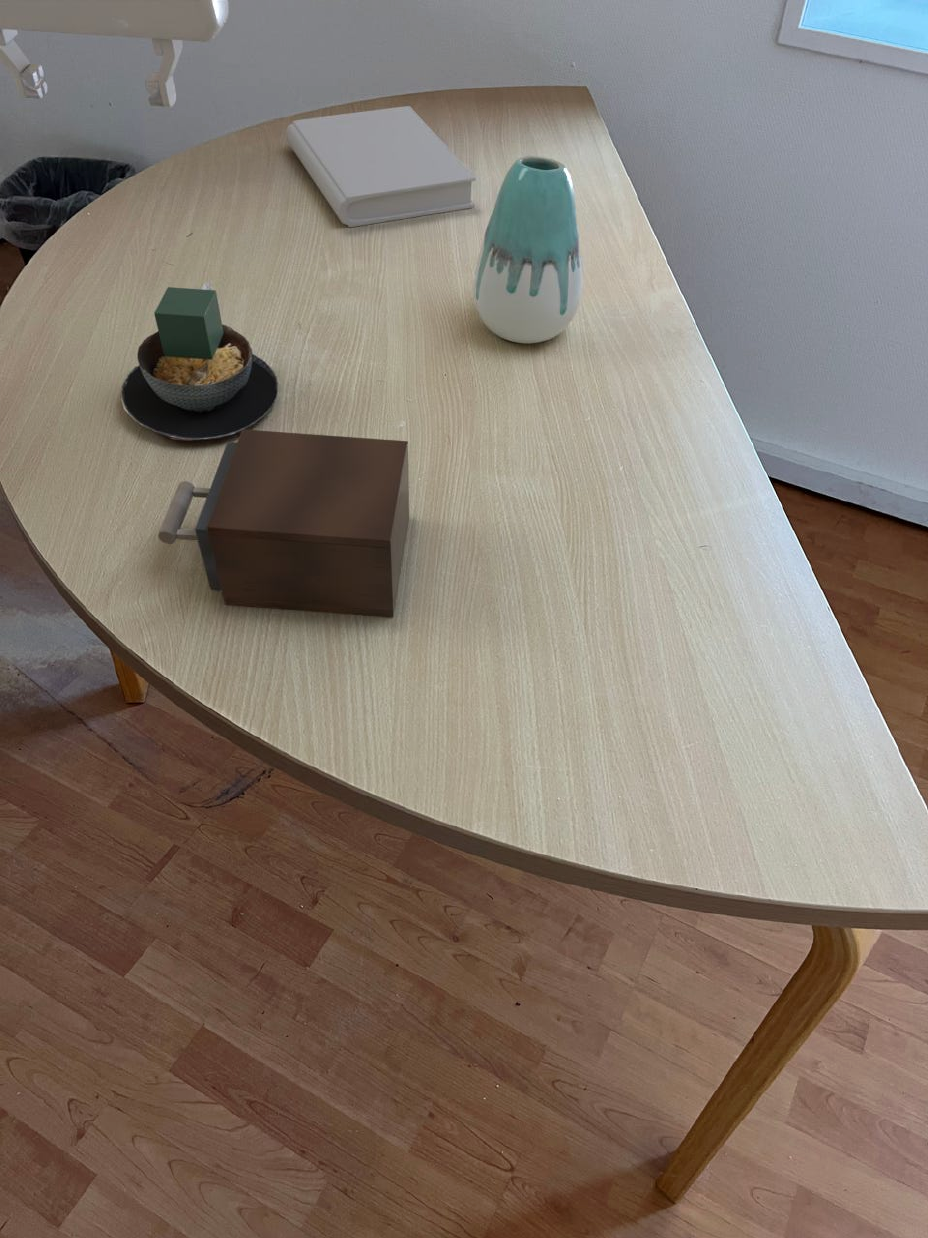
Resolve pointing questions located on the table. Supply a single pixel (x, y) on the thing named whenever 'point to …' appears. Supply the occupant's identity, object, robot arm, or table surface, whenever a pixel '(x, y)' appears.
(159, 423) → the soup bowl
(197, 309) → the block
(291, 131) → the book
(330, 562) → the cabinet
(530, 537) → the table surface
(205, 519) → the drawer
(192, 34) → the robot arm
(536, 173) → the vase
